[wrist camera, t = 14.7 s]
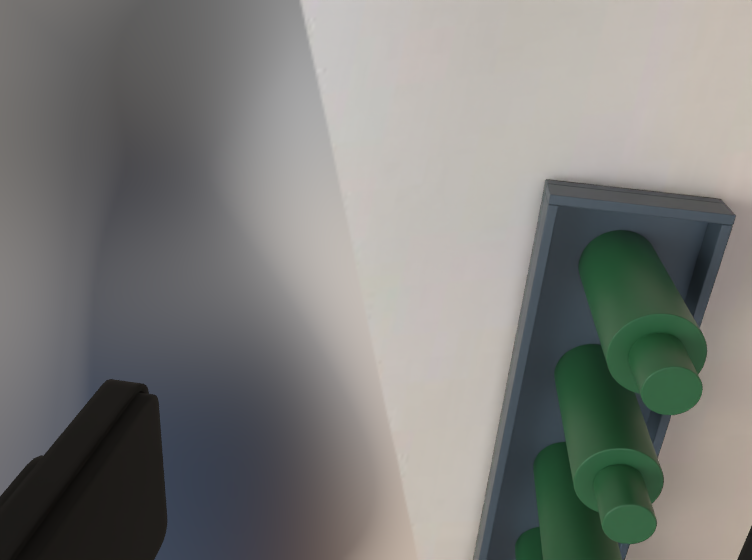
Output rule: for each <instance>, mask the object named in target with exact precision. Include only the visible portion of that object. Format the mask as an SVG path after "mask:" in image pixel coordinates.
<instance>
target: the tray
mask: <svg viewBox="0 0 752 560" xmlns="http://www.w3.org/2000/svg"><path fill="white" fill-rule="evenodd" d="M735 217H736V215H735V214H734V213H733V212H732V211H731V210H730V209H729V208H728V207H727V205H726V204H725V203H724V202H723V201H722V200H721V199H716V198H708V197H699V196H690V195H681V194H672V193H663V192H654V191H645V190H636V189H627V188H618V187H609V186H600V185H591V184H582V183H573V182H564V181H555V180H546V181H545V186H544V192H543V197H542V202H541V207H540V213H539V218H538V223H537V228H536V233H535V239H534V244H533V249H532V254H531V260H530V265H529V270H528V275H527V281H526V286H525V291H524V296H523V301H522V307H521V312H520V317H519V322H518V328H517V333H516V338H515V343H514V349H513V354H512V359H511V364H510V369H509V375H508V380H507V385H506V390H505V396H504V401H503V406H502V411H501V416H500V422H499V427H498V432H497V437H496V443H495V448H494V453H493V458H492V464H491V469H490V474H489V479H488V484H487V490H486V495H485V500H484V505H483V511H482V516H481V521H480V526H479V532H478V537H477V542H476V547H475V552H474V558H473V560H516V557H515V544H516V541H517V539H518V538H519V537H520V536H521V535H522V534H523V533H524V532H526V531H527V530H529V529H532V528H535V527H539V518H538V509H537V499H536V490H535V481H534V472H533V464H534V460H535V458H536V456H537V455H538V454H539V453H540V451H542V450H543V449H544V448H546V447H547V446H549V445H552V444H554V443H559V442H566V440H565V434H564V429H563V423H562V418H561V412H560V406H559V401H558V395H557V390H556V384H555V378H554V372H555V367H556V365H557V363H558V361H559V360H560V358H561V357H562V356H563V355H564V354H565V353H566V352H568V351H569V350H571V349H573V348H575V347H578V346H581V345H587V344H597V345H601V343H600V340H599V337H598V333H597V330H596V327H595V324H594V320H593V317H592V314H591V311H590V307H589V304H588V301H587V298H586V294H585V291H584V288H583V285H582V281H581V278H580V275H579V260H580V256H581V254H582V252H583V250H584V249H585V247H586V246H587V245H588V244H589V243H590V242H591V241H592V240H593V239H595V238H596V237H598V236H600V235H602V234H604V233H607V232H610V231H615V230H627V231H632V232H635V233H637V234H640V235H641V236H643V237H645V238H646V239H647V240H648V241H649V242H650V243H651V245H652V246H653V248H654V250H655V251H656V253H657V255H658V257H659V258H660V260H661V262H662V264H663V265H664V267H665V269H666V271H667V272H668V274H669V276H670V278H671V279H672V281H673V283H674V285H675V286H676V288H677V290H678V292H679V293H680V295H681V297H682V299H683V300H684V302H685V304H686V306H687V307H688V309H689V311H690V313H691V314H692V316H693V318H694V320H695V321H696V323H697V325H698V327H699V328H700V325H701V322H702V319H703V316H704V313H705V310H706V307H707V304H708V301H709V298H710V294H711V291H712V288H713V285H714V282H715V279H716V276H717V273H718V270H719V267H720V264H721V260H722V257H723V254H724V251H725V248H726V245H727V242H728V239H729V236H730V233H731V230H732V227H733V226H732V225H733V224H734V221H735ZM635 395H636V398H637V401H638V403H639V406H640V409H641V412H642V415H643V418H644V421H645V423H646V426H647V429H648V432H649V435H650V438H651V441H652V444H653V446H654V449H655V452H656V455H657V458H658V455H659V452H660V449H661V446H662V443H663V440H664V437H665V433H666V430H667V427H668V424H669V421H670V418H671V415H662V414H658V413H656V412H654V411H652V410H650V409H649V408H648V407H647V406H646V405H645V404H644V403H643V401H642V398H641V395H640V394H639V393H635ZM618 545H619V549H620V553H621V557H622V560H625V557H626V554H627V551H628V548H629V545H630V544H623V543H618Z"/></svg>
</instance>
